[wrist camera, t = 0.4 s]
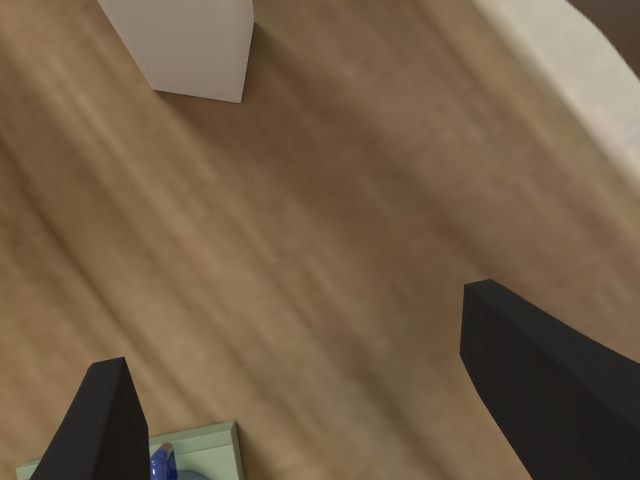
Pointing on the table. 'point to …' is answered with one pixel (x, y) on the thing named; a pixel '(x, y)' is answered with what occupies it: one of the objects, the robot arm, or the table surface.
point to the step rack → (191, 452)
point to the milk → (187, 43)
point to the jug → (169, 466)
